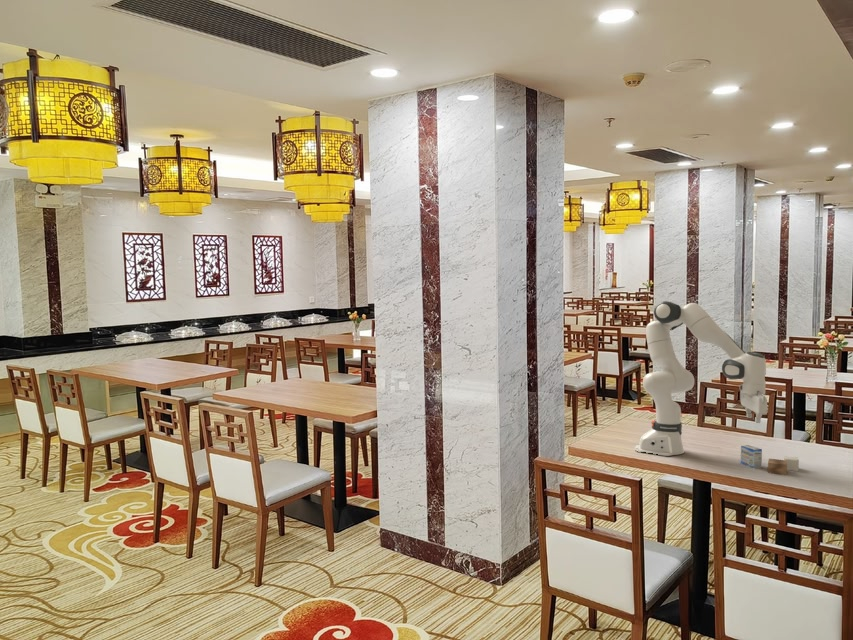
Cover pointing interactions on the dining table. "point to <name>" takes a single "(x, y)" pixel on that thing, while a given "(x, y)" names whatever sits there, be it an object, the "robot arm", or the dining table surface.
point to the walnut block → (777, 466)
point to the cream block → (792, 463)
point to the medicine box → (751, 456)
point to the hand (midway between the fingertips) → (753, 420)
